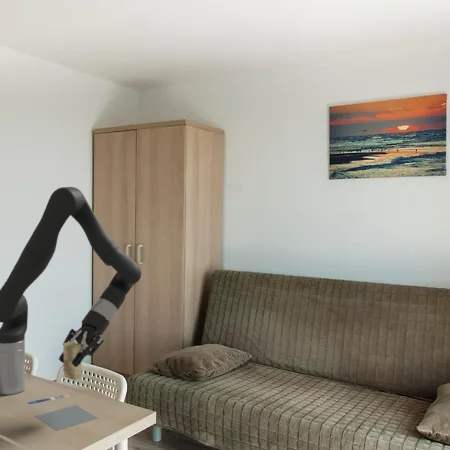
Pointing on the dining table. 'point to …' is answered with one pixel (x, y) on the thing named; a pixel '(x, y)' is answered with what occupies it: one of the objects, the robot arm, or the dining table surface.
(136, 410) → the dining table surface
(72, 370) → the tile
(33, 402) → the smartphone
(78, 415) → the mat
